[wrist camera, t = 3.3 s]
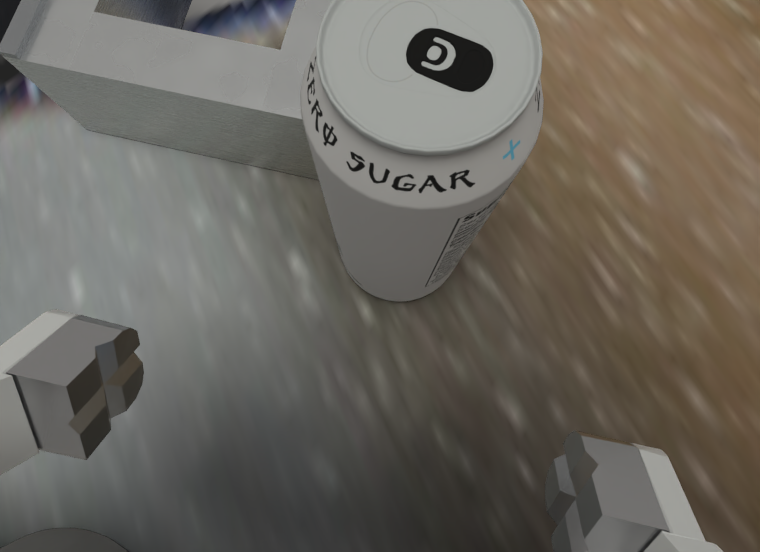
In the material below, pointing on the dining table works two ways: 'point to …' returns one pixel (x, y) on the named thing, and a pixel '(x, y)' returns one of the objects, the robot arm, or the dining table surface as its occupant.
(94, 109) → the frame
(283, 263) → the dining table surface
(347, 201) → the energy drink can
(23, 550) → the coffee mug
